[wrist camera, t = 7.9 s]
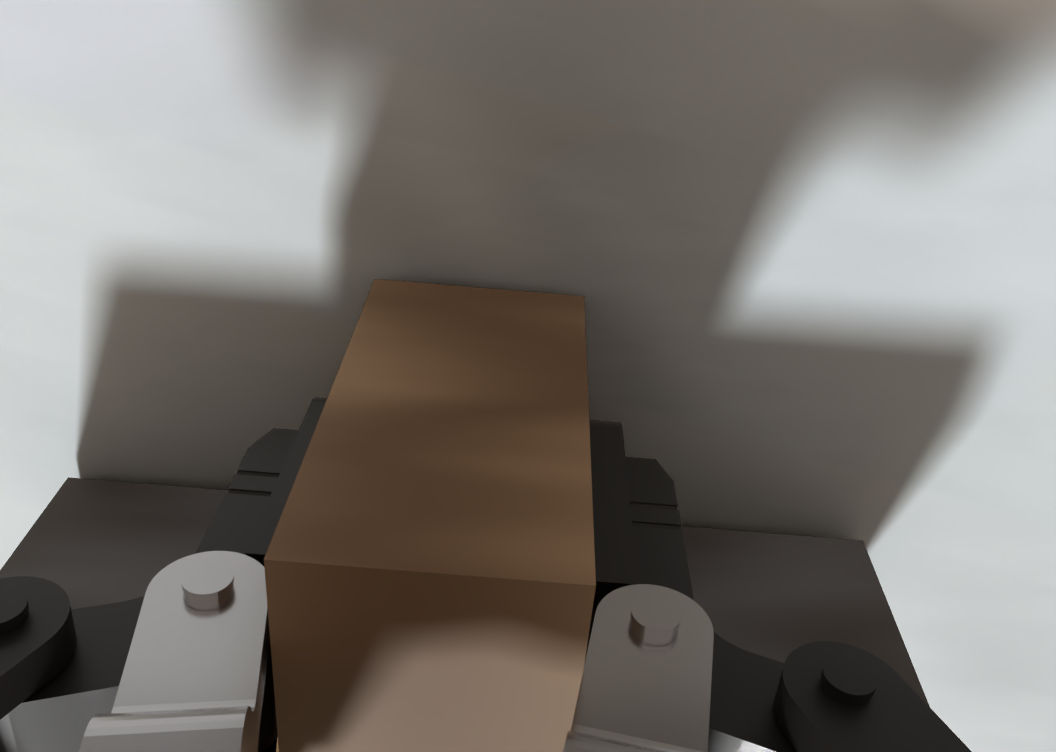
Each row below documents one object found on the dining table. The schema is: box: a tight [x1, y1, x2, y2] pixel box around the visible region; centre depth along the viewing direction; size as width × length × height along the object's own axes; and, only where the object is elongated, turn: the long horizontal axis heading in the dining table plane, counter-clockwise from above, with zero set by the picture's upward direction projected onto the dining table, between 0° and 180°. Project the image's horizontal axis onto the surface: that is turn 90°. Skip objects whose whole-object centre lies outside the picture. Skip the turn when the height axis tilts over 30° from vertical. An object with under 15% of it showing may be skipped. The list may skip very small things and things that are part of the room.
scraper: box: [0, 279, 929, 752], centre depth 13 cm, size 13×5×6 cm, turn 86°
